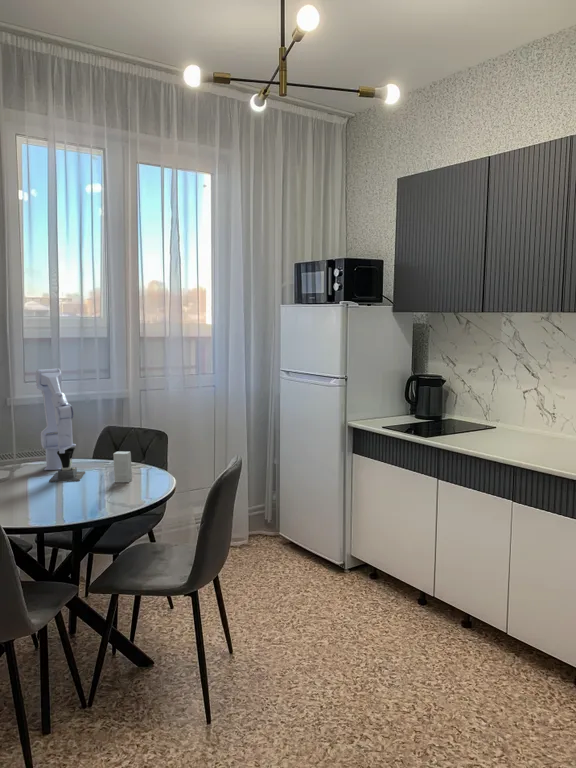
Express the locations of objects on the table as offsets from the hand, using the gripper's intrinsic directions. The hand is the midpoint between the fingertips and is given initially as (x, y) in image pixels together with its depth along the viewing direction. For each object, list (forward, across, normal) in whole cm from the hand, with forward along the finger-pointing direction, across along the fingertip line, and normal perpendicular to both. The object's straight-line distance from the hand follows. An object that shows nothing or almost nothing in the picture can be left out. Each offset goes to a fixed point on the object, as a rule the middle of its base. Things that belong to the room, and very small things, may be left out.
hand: (67, 466), depth 257 cm
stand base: (+5, 0, 0) cm, 5 cm away
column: (+4, 0, 0) cm, 4 cm away
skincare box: (+5, -9, -24) cm, 26 cm away
